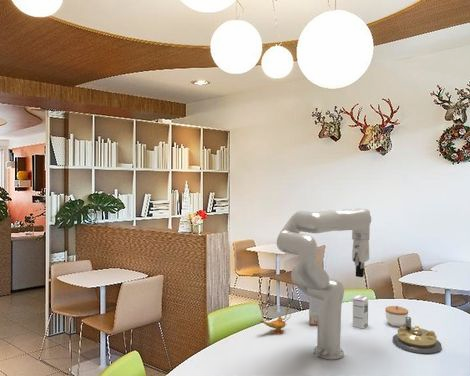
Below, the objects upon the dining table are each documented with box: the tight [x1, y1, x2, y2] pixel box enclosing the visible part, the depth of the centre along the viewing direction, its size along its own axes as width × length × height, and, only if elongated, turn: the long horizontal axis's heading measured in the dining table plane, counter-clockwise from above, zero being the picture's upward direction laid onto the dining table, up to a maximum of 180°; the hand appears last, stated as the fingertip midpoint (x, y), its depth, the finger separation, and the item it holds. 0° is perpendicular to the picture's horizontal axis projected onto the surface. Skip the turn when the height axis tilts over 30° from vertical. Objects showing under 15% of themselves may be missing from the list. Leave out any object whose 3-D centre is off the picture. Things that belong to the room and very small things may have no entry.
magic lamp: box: [259, 306, 292, 335], centre depth 208 cm, size 7×18×11 cm, turn 122°
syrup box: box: [352, 295, 369, 330], centre depth 217 cm, size 6×6×14 cm
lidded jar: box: [385, 305, 409, 328], centre depth 220 cm, size 11×11×9 cm
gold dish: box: [397, 316, 438, 348], centre depth 195 cm, size 16×16×8 cm
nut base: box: [392, 333, 442, 355], centre depth 196 cm, size 20×20×2 cm
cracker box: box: [308, 296, 323, 326], centre depth 219 cm, size 14×6×21 cm, turn 84°
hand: (359, 276), depth 199 cm, fingers closed
